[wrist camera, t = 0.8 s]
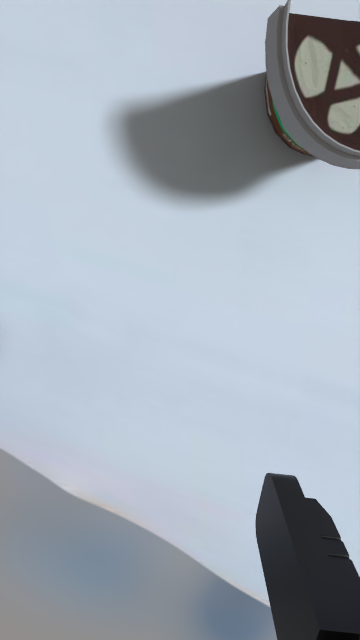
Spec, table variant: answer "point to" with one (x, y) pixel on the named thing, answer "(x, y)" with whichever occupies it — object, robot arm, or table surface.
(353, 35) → the food container
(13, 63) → the table surface
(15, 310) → the table surface
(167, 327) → the table surface
